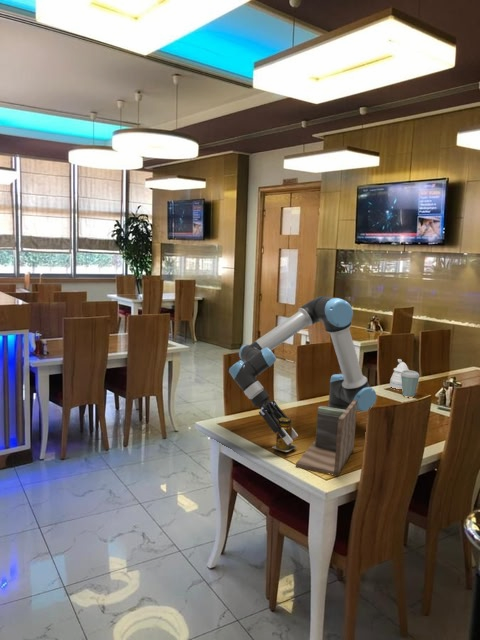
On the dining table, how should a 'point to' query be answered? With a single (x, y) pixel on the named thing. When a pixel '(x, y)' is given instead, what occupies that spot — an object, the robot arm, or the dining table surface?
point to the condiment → (280, 443)
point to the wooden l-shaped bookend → (331, 440)
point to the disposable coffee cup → (409, 382)
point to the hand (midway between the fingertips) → (292, 440)
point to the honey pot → (398, 375)
